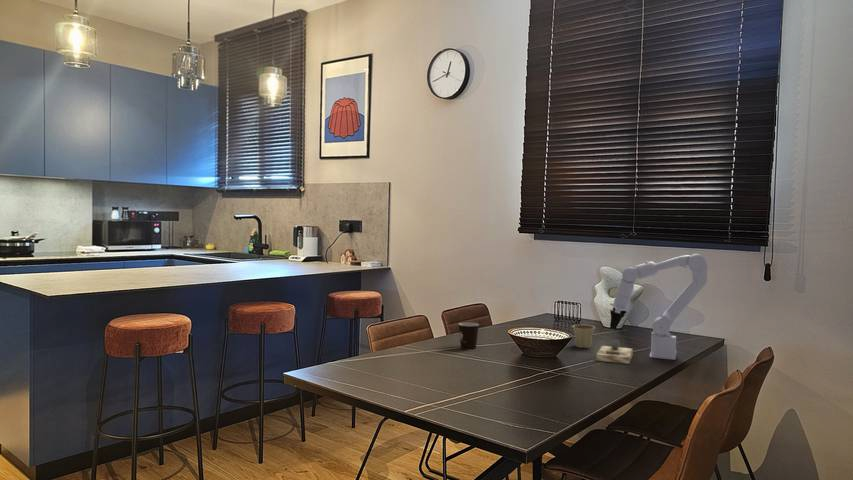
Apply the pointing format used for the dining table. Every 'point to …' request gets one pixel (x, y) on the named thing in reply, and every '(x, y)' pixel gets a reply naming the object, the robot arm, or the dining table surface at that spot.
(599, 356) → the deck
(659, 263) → the robot arm
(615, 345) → the ball
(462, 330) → the coffee mug
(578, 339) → the flower pot
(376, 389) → the dining table surface
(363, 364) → the dining table surface
